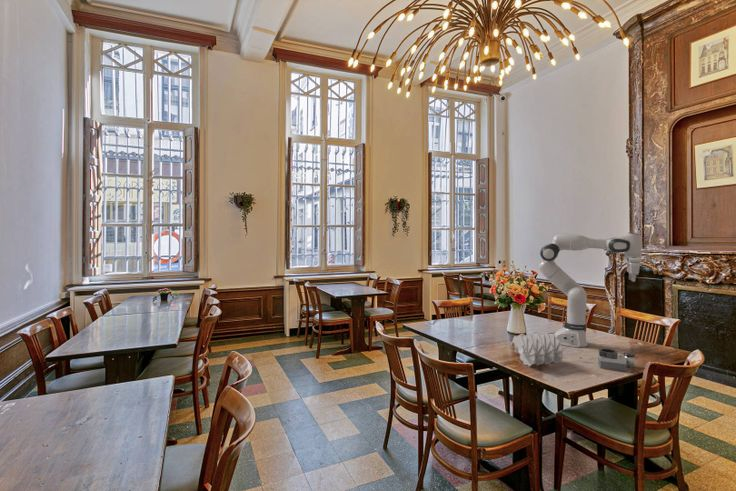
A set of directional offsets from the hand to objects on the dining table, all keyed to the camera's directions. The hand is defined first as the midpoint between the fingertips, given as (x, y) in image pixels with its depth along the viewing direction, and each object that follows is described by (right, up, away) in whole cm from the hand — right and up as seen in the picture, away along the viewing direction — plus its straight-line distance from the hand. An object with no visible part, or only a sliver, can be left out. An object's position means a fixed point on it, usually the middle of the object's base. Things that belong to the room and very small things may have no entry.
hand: (632, 280), depth 240 cm
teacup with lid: (-72, -45, -3) cm, 85 cm away
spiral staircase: (-69, -46, -23) cm, 86 cm away
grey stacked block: (-30, -46, -27) cm, 61 cm away
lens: (-20, -46, -26) cm, 56 cm away
